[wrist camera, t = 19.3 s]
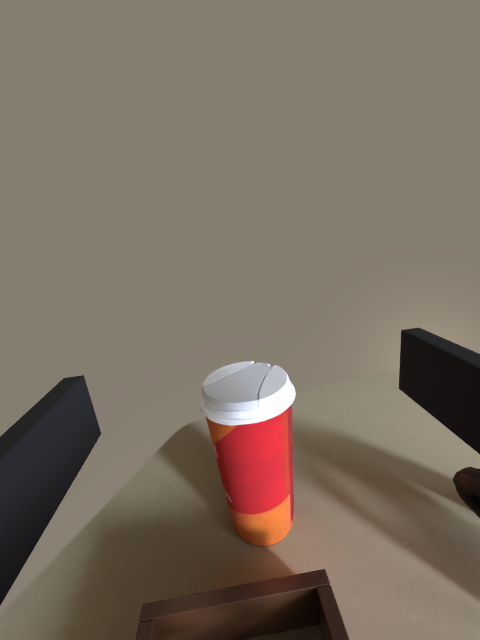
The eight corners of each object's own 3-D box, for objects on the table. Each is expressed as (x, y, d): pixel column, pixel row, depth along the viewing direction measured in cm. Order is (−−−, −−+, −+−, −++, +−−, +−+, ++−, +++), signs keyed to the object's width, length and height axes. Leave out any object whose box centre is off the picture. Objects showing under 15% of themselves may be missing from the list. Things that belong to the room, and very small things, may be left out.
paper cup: (249, 471, 32) (232, 354, 28) (317, 499, 27) (309, 365, 23) (203, 533, 25) (173, 394, 22) (281, 583, 21) (262, 419, 17)
